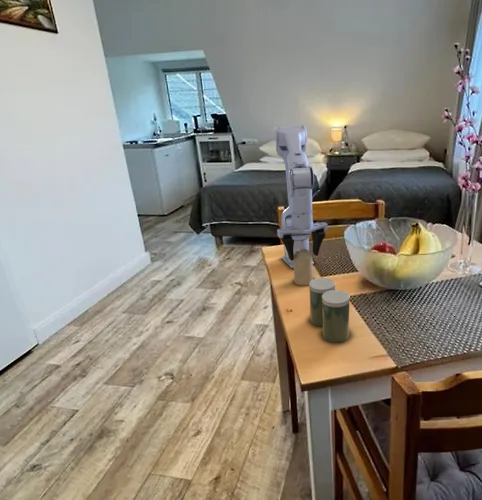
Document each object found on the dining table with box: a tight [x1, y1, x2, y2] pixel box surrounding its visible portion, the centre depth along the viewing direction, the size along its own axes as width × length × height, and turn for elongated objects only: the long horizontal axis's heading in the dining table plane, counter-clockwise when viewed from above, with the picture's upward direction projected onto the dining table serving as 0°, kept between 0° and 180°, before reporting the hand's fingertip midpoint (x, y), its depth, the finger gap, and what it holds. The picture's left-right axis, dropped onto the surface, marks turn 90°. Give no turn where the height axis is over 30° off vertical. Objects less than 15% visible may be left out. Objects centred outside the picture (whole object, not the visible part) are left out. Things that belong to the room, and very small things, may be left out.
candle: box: [293, 249, 314, 286], centre depth 113 cm, size 6×6×10 cm
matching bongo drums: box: [308, 277, 351, 343], centre depth 90 cm, size 13×6×10 cm, turn 23°
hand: (303, 256), depth 111 cm, fingers open, 7 cm apart
